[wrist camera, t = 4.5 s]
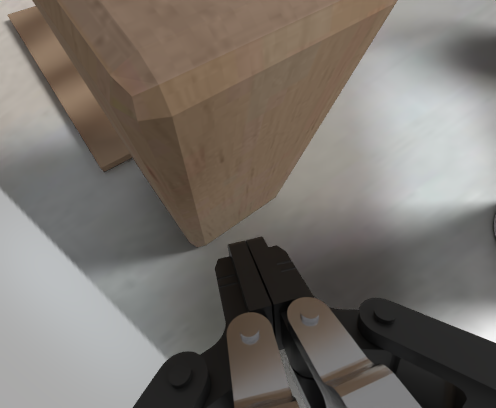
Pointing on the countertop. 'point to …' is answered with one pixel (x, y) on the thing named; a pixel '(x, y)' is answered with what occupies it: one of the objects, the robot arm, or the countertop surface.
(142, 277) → the countertop surface
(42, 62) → the cutting board
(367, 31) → the block
